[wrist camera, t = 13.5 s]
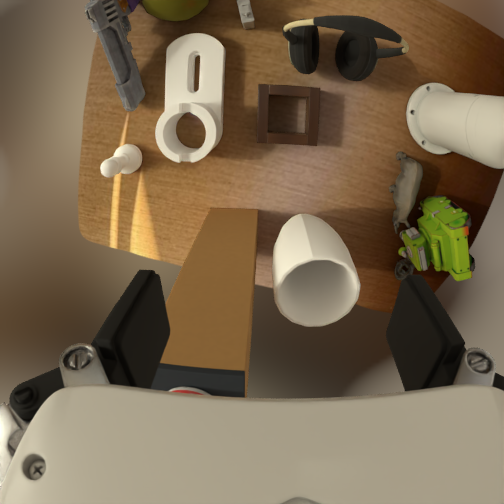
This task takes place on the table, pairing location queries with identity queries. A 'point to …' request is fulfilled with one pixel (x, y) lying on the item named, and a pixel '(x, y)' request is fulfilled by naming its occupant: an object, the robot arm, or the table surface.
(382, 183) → the table surface
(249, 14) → the grey angled piece
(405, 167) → the rhino figurine
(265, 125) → the holder
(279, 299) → the cup
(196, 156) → the bracket
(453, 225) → the lime green boxy piece
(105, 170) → the chess pawn
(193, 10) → the apple
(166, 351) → the black-topped square pillar
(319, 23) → the headphones
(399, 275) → the corroded twin loop
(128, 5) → the handgun
